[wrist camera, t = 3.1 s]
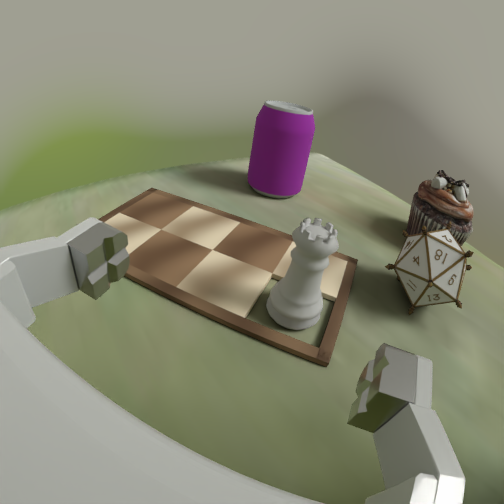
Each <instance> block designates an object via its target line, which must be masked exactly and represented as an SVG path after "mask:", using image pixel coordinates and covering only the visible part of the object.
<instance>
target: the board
mask: <svg viewBox="0 0 504 504" xmlns="http://www.w3.org/2000/svg"><path fill="white" fill-rule="evenodd" d="M98 220H100V221H102V222H104V223H106V224H108V225H110V226H112V227H114V228H116V229H118V230H120V231H122V232H124V233H125V234H126V235H127V238H128V245H127V247H126V250H127V252H128V254H129V259H130V263H129V268H128V270H127V272H126V273H125V275H124V276H126V277H127V278H129V279H131V280H133V281H135V282H137V283H139V284H141V285H143V286H145V287H147V288H149V289H151V290H153V291H154V292H156V293H158V294H160V295H162V296H164V297H166V298H169V299H171V300H173V301H175V302H177V303H179V304H181V305H183V306H185V307H187V308H189V309H191V310H193V311H195V312H198V313H200V314H202V315H204V316H206V317H208V318H210V319H213V320H215V321H217V322H219V323H221V324H224V325H226V326H228V327H230V328H233V329H235V330H237V331H239V332H242V333H244V334H246V335H249V336H251V337H253V338H255V339H258V340H260V341H263V342H265V343H267V344H270V345H272V346H275V347H277V348H279V349H282V350H284V351H287V352H289V353H292V354H294V355H297V356H299V357H302V358H304V359H307V360H310V361H312V362H315V363H317V364H320V365H323V366H325V367H327V366H328V364H329V361H330V358H331V355H332V352H333V349H334V346H335V342H336V339H337V336H338V332H339V329H340V326H341V322H342V319H343V315H344V312H345V308H346V304H347V301H348V297H349V293H350V289H351V285H352V281H353V277H354V273H355V269H356V265H357V261H358V260H357V259H354V258H352V257H349V256H346V255H344V254H341V253H338V252H334V253H333V254H331V255H329V256H328V258H329V265H328V267H327V268H325V269H324V272H323V275H322V280H321V285H320V289H321V296H322V297H323V298H326V299H328V300H331V301H334V302H335V303H334V306H333V309H332V312H331V315H330V318H329V321H328V324H327V327H326V330H325V333H324V335H323V338H322V341H321V344H320V347H319V348H318V347H315V346H313V345H310V344H308V343H305V342H302V341H300V340H297V339H295V338H292V337H290V336H287V335H285V334H282V333H280V332H277V331H275V330H273V329H270V328H268V327H265V326H263V325H260V324H258V323H256V322H253V321H251V320H249V319H246V317H247V315H248V314H249V312H250V310H251V309H252V307H253V306H254V304H255V303H256V301H257V300H258V298H259V296H260V295H261V293H262V292H263V290H264V289H265V287H266V285H267V284H268V282H269V281H270V279H271V278H274V279H276V280H279V281H280V280H281V279H282V278H283V277H285V275H286V272H287V270H288V268H289V266H290V264H291V260H292V258H291V251H292V250H293V248H295V247H296V244H295V242H294V240H293V238H292V235H289V234H286V233H283V232H281V231H278V230H275V229H272V228H269V227H267V226H264V225H261V224H258V223H255V222H252V221H249V220H247V219H244V218H241V217H238V216H235V215H232V214H229V213H226V212H223V211H220V210H217V209H215V208H212V207H209V206H206V205H203V204H200V203H197V202H194V201H191V200H188V199H185V198H182V197H179V196H176V195H173V194H170V193H166V192H163V191H160V190H157V189H154V188H150V189H149V190H147V191H145V192H143V193H142V194H140V195H138V196H136V197H135V198H133V199H131V200H130V201H128V202H126V203H124V204H123V205H121V206H119V207H118V208H116V209H114V210H113V211H111V212H110V213H108V214H106V215H105V216H103V217H101V218H100V219H98Z"/></svg>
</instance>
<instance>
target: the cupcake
mask: <svg viewBox="0 0 504 504" xmlns="http://www.w3.org/2000/svg"><path fill="white" fill-rule="evenodd" d="M467 187H469V185H468V184H467V183H465V180H461V181H455V180H454V179H452V178H451V177H448V176H447V175H446V174H445V172H444V171H443V170H441V171H440V170H439V172H437V174H436V176H435V177H434V179H433V180H426V181H424V182H422V183H421V184H420V185H419V188H418V192H416V193H415V194H414V197H413V200H412V205H411V211H410V216H409V220H408V226H407V232H408V235H414V234H419V233H423V232H422V230H421V228H422V227H423V225H424V226H425V227H427V232H430V231H436V230H441V229H446V228H447V223H449V222H450V221H451V224H452V226H451V228H450V232H451V233H452V235H453V236H454V237H455V239H456V240H457V242H458V243H459V245H460V246H462V244H463V243H464V242H465V241H466V239H467V238H468V237H469V236H470V235H471V233H472V232H473V228H472V221H471V220H472V218H473V207H472V205H471V204H470V203H469V201H468V200H467V199H466V198H467V195H468V194H469V190H468V188H467Z"/></svg>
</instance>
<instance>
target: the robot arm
mask: <svg viewBox="0 0 504 504" xmlns="http://www.w3.org/2000/svg"><path fill="white" fill-rule="evenodd" d="M127 245H128V238H127V235H126V234H125V233H124V232H122V231H120V230H118V229H116V228H114V227H112V226H110V225H108V224H106V223H104V222H102V221H100V220H98V219H96V218H88V219H86V220H85V221H83V222H81V223H80V224H78V225H76V226H75V227H73V228H72V229H70V230H68V231H67V232H65V233H64V234H62V235H60V236H59V237H57V238H56V237H49V238H44V239H39V240H34V241H29V242H25V243H20V244H15V245H11V246H6V247H1V248H0V504H325V503H321V502H318V501H314V500H311V499H308V498H304V497H301V496H298V495H295V494H292V493H289V492H286V491H284V490H281V489H278V488H275V487H273V486H270V485H267V484H265V483H262V482H260V481H257V480H255V479H252V478H250V477H247V476H245V475H243V474H240V473H238V472H236V471H234V470H231V469H229V468H227V467H225V466H223V465H220V464H218V463H216V462H214V461H212V460H210V459H208V458H206V457H204V456H202V455H200V454H198V453H196V452H194V451H193V450H191V449H189V448H187V447H185V446H183V445H181V444H180V443H178V442H176V441H174V440H172V439H171V438H169V437H167V436H166V435H164V434H162V433H161V432H159V431H157V430H156V429H154V428H152V427H151V426H149V425H147V424H146V423H144V422H143V421H141V420H140V419H138V418H137V417H135V416H133V415H132V414H130V413H129V412H127V411H126V410H125V409H123V408H122V407H120V406H119V405H117V404H116V403H114V402H113V401H112V400H110V399H109V398H108V397H106V396H105V395H103V394H102V393H101V392H99V391H98V390H97V389H95V388H94V387H93V386H91V385H90V384H89V383H88V382H86V381H85V380H84V379H83V378H81V377H80V376H79V375H78V374H76V373H75V372H74V371H73V370H72V369H70V368H69V367H68V366H67V365H66V364H64V363H63V362H62V361H61V360H60V359H59V358H57V357H56V356H55V355H54V354H53V353H52V352H51V351H50V350H49V349H47V348H46V347H45V346H44V345H43V344H42V343H41V342H40V341H39V340H38V339H37V338H36V337H35V336H34V335H33V334H32V333H31V332H30V331H29V330H28V329H27V328H28V327H29V326H30V325H31V324H32V323H33V322H34V321H35V318H36V317H35V315H34V312H33V310H32V307H35V306H38V305H41V304H43V303H46V302H49V301H52V300H54V299H57V298H60V297H63V296H65V295H68V294H71V293H74V292H76V291H79V290H81V291H82V292H84V293H85V294H87V295H88V296H90V297H92V298H93V299H95V300H97V299H98V298H99V297H100V296H101V295H102V294H104V293H105V292H106V291H107V290H108V289H109V288H110V283H112V282H116V281H119V280H120V279H121V278H122V277H123V276H124V275H125V273H126V272H127V270H128V268H129V263H130V259H129V254H128V252H127V250H126V247H127ZM356 393H357V396H358V398H357V399H356V400H355V401H354V403H353V404H352V407H351V411H350V414H349V418H348V422H347V424H349V425H352V426H355V427H358V428H360V429H363V430H366V431H369V432H372V433H374V434H373V437H374V441H375V445H376V449H377V453H378V457H379V462H380V466H381V470H382V474H383V479H384V483H385V488H386V490H384V491H381V492H379V493H376V494H374V495H371V496H370V497H368V498H366V500H365V503H364V504H462V502H463V495H464V488H465V477H464V474H463V472H462V469H461V467H460V464H459V462H458V460H457V457H456V455H455V453H454V450H453V448H452V446H451V444H450V441H449V439H448V437H447V435H446V432H445V430H444V428H443V426H442V424H441V422H440V420H439V417H438V415H437V413H436V411H435V410H432V409H431V401H432V361H431V360H430V359H427V358H424V357H421V356H419V355H415V354H413V353H410V352H407V351H404V350H401V349H399V348H396V347H393V346H390V345H388V344H385V343H383V344H382V345H381V346H380V347H379V349H378V350H377V351H376V356H375V359H374V360H371V361H369V362H368V364H367V365H366V367H365V368H364V370H363V372H362V374H361V376H360V378H359V381H358V384H357V388H356Z"/></svg>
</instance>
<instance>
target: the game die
mask: <svg viewBox="0 0 504 504" xmlns="http://www.w3.org/2000/svg"><path fill="white" fill-rule="evenodd" d="M451 226H452V224H451V221H450V222H449V223H447V228H446V229H441V230H436V231H430V232H427V227H425V226H424V225H423V227H422V228H421V230H422V232H423V233H419V234H414V235H408V232H407V231H404V230H403V235H404V237H406V240H405V243H404V245H403V247H402V249H401V251H400V254H399V256H398V258H397V260H396V262H395V264H394V265H392V264H388V265H387V266H385V267H386V268H387V269H388V270H390V269H394V270H395V272H396V274H397V279H398V280H399V281H400V282H401V284H402V286H403V288H404V290H405V292H406V294H407V296H408V298H409V300H410V302H411V304H412V306H411V307H410V309H409V315H410V314H411V313H413V311H414V308H415V307H419V306H427V305H435V304H443V303H450V302H456V305H457V307H459V308H461V309H462V305H461V304H462V303H461V302H460V301H459V300H458V297H459V293H460V290H461V286H462V282H463V279H464V275H465V271H466V270H470V269H471V268H472V267H471V266H470V265H466V258H467V257H471V256H472V254H473V253H474V252H471V251H470V250H469V251H467V253H465V252H464V251H463V249H462V248H461V246H460V245H459V243H458V242H457V240H456V239H455V237H454V236H453V235H452V233H451V232H450V228H451Z"/></svg>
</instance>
